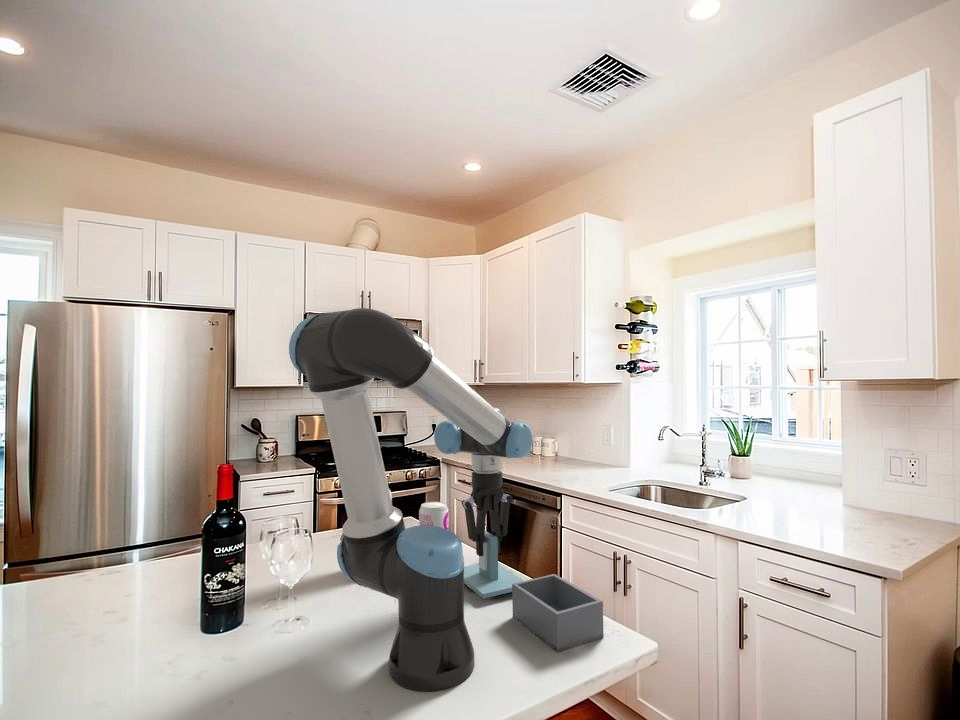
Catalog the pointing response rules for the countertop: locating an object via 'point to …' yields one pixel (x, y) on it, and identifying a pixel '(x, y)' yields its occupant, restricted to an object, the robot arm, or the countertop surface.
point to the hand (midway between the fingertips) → (488, 567)
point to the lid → (490, 573)
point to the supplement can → (434, 515)
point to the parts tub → (557, 611)
